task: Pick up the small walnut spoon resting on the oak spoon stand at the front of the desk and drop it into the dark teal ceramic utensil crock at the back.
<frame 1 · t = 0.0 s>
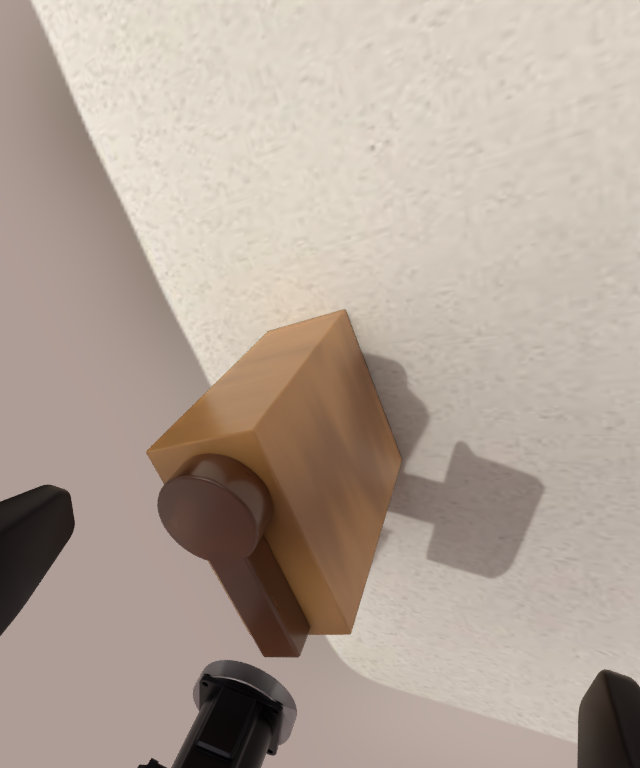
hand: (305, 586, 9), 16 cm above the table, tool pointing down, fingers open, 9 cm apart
spoon: (251, 546, 17), point 10 cm above the table, touching stand
stand: (336, 397, 26), on the table
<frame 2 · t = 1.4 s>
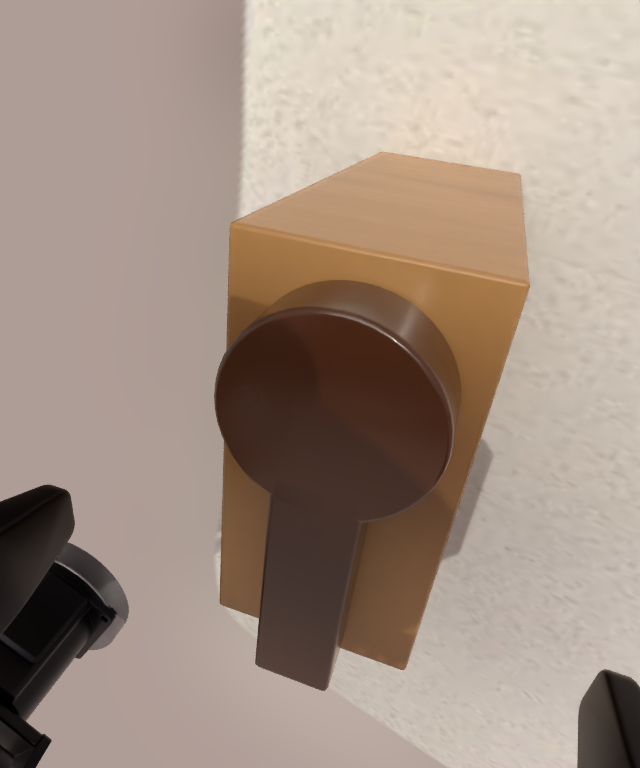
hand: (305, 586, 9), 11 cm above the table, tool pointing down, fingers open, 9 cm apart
spoon: (332, 488, 9), point 10 cm above the table, touching stand
stand: (419, 295, 17), on the table
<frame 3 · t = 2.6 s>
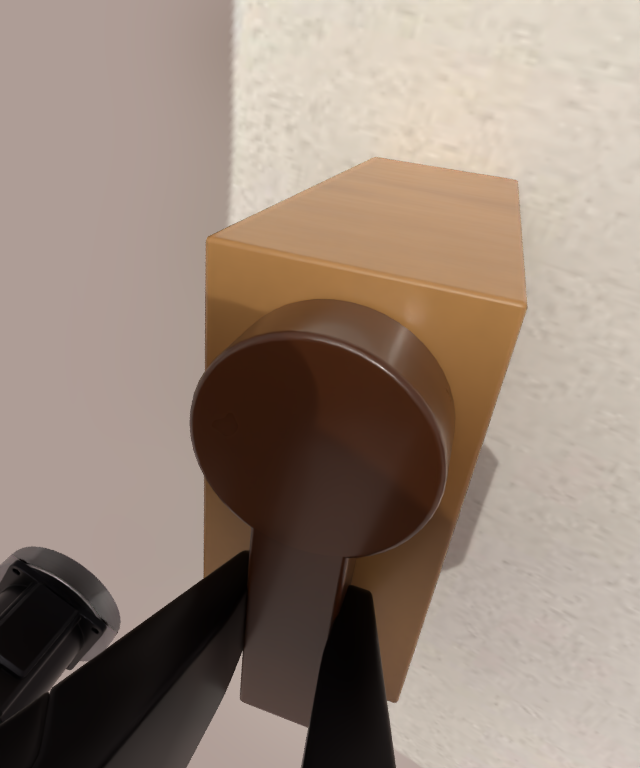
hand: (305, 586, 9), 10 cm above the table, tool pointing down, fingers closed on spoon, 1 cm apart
spoon: (319, 516, 8), point 10 cm above the table, touching gripper, stand
stand: (414, 303, 17), on the table
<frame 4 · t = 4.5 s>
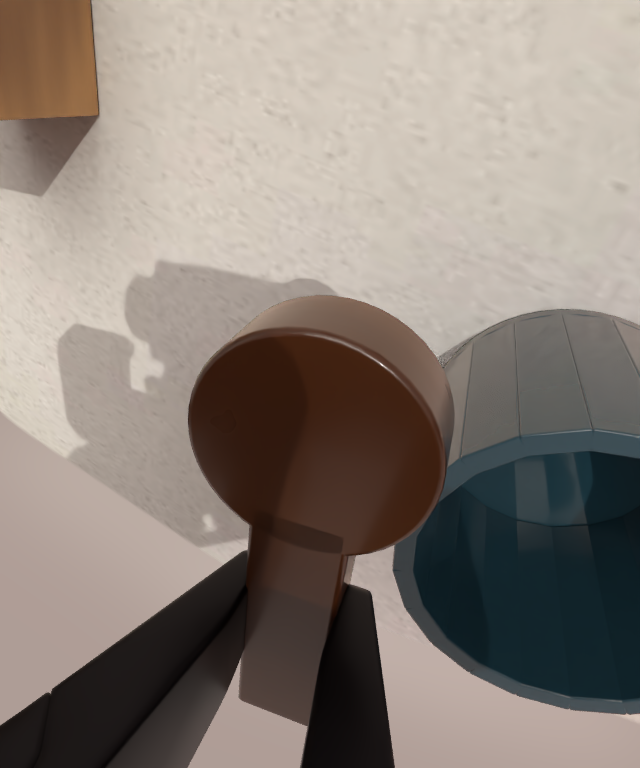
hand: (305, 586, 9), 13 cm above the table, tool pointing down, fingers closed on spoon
spoon: (318, 513, 8), point 13 cm above the table, touching gripper
crock: (554, 428, 21), on the table
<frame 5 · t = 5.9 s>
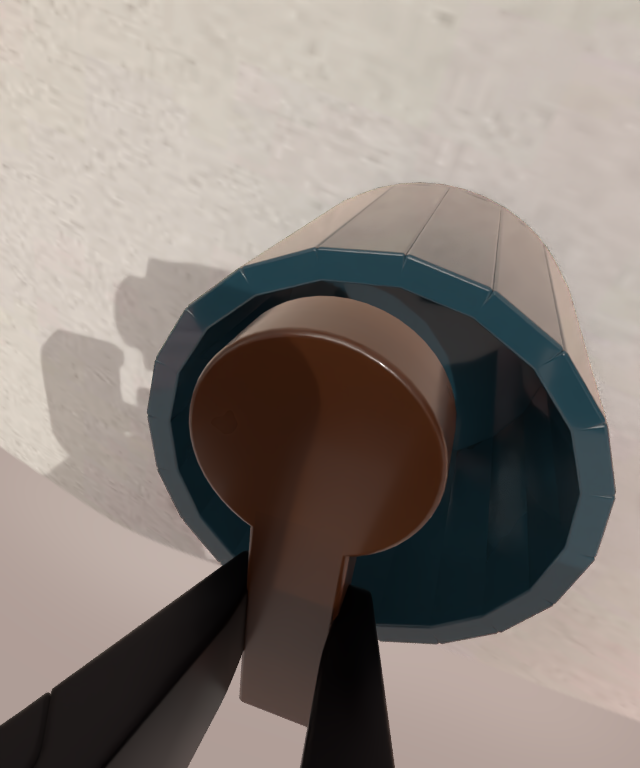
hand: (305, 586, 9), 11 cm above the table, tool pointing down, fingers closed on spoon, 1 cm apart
spoon: (319, 514, 8), point 11 cm above the table, touching gripper
crock: (412, 335, 18), on the table
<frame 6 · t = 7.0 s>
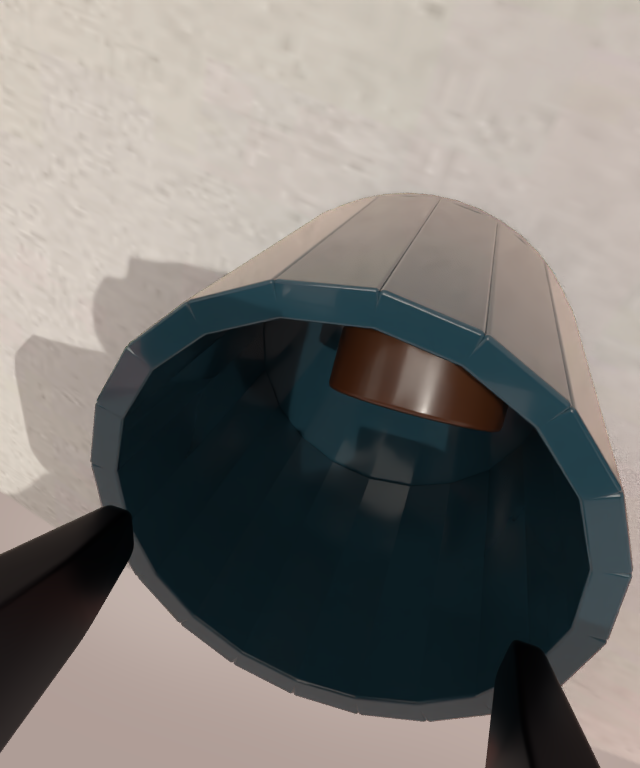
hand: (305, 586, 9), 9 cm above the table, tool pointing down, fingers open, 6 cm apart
spoon: (417, 346, 12), point 4 cm above the table, tilted 63°, touching crock
crock: (401, 358, 16), on the table
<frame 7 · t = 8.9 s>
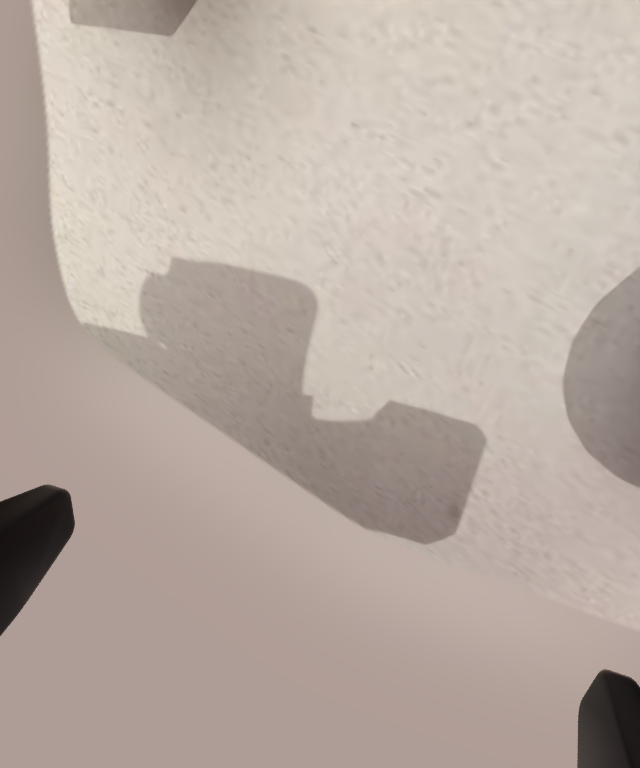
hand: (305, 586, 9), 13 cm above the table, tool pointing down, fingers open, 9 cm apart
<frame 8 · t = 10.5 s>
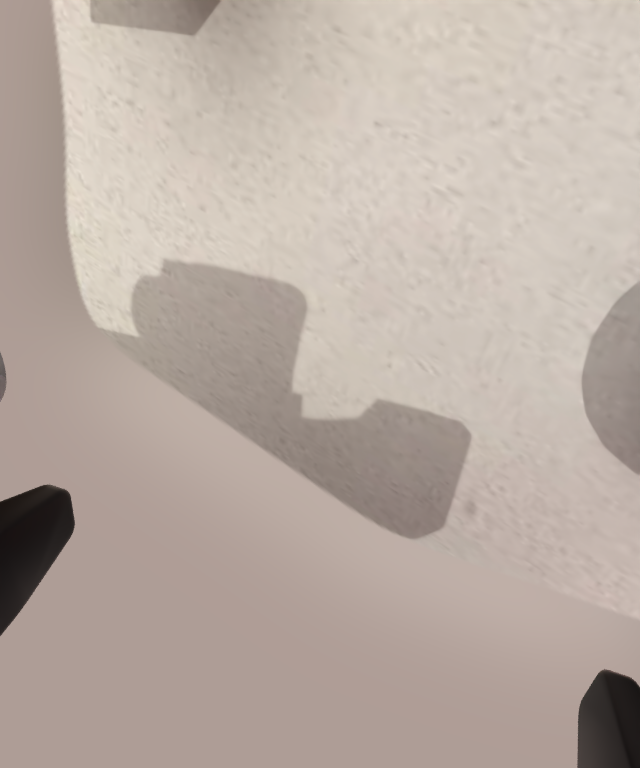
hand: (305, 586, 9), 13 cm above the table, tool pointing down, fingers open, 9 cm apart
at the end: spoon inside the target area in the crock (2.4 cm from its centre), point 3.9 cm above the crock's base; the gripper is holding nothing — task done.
